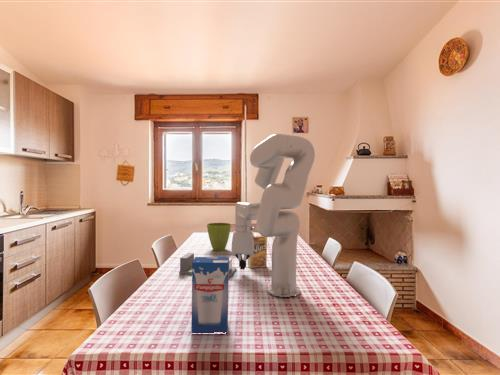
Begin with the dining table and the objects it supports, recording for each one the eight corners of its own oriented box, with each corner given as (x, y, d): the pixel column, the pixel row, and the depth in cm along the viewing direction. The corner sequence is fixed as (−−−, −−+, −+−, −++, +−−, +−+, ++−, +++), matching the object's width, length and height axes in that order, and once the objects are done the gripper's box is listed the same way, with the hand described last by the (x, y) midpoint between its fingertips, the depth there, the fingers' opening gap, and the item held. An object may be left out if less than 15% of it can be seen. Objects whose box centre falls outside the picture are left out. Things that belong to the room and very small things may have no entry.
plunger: (228, 272, 137) (229, 261, 137) (205, 271, 138) (205, 260, 138) (231, 268, 143) (232, 258, 142) (209, 267, 144) (209, 257, 144)
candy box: (249, 268, 148) (250, 237, 148) (247, 266, 152) (247, 235, 152) (266, 267, 151) (267, 236, 151) (263, 265, 155) (264, 235, 155)
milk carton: (228, 324, 90) (229, 257, 89) (227, 334, 83) (228, 262, 83) (194, 324, 89) (195, 256, 89) (191, 334, 83) (191, 262, 83)
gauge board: (230, 277, 133) (230, 261, 133) (179, 274, 137) (179, 258, 137) (236, 270, 145) (236, 255, 145) (188, 267, 149) (188, 252, 149)
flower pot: (202, 251, 184) (202, 225, 184) (212, 246, 198) (212, 222, 198) (225, 253, 180) (225, 226, 179) (233, 248, 194) (234, 223, 194)
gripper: (260, 228, 141) (259, 267, 141) (229, 227, 143) (228, 265, 144) (258, 231, 133) (257, 272, 134) (225, 229, 136) (224, 270, 136)
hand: (242, 268), depth 139 cm, fingers closed
